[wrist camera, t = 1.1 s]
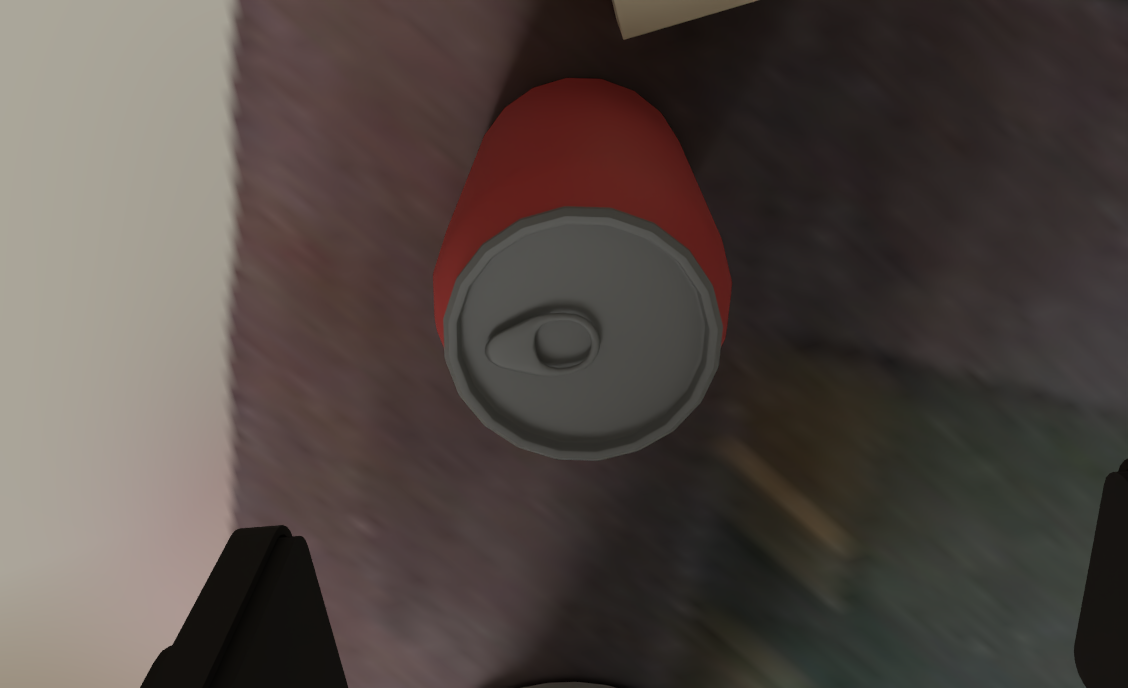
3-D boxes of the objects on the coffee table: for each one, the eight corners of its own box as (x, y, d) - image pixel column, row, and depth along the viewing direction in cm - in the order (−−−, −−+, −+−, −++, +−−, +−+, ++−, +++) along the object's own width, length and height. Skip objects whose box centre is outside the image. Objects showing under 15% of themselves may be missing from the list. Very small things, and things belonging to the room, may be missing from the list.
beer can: (458, 88, 28) (383, 205, 17) (676, 59, 27) (741, 160, 17) (493, 289, 31) (449, 499, 20) (692, 265, 30) (757, 467, 19)
